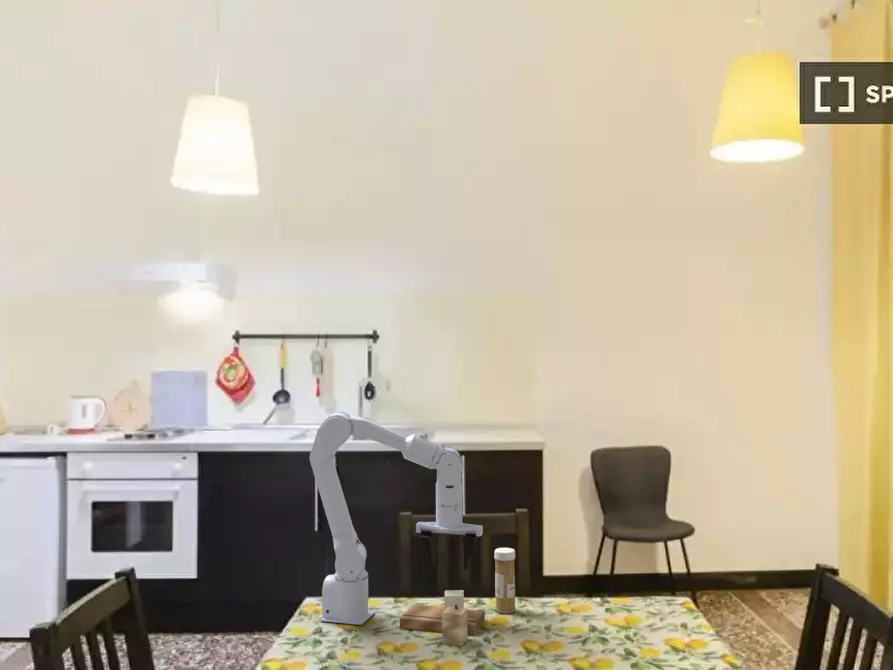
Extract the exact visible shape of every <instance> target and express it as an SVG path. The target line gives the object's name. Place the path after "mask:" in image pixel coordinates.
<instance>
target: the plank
mask: <svg viewBox="0 0 893 670" xmlns="http://www.w3.org/2000/svg"><path fill="white" fill-rule="evenodd" d="M444 611H445V606H436V605H435V606H434V605H424V604H423V605H422V604H412V605H411V606H410V607H409V608H408V609H407V610H406V611H405V612H404V613H402V615H401V616H400V617H399V629H406V628H407V629H408V630H416V631H427V632H438V633H442V613H443V612H444ZM485 612H486V611H485V610H481V609H480V610H479V609H468V608H467V636H468V635H469V636H475V635H476V634H477V633H478V632H479V630H480V628H481V626H482V625H483V623H484V622H485V620H486V619H485V618H486V617H485V616H486V613H485Z"/></svg>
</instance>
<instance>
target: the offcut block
mask: <svg viewBox="0 0 893 670" xmlns="http://www.w3.org/2000/svg"><path fill="white" fill-rule="evenodd" d="M464 591H465V590H464V589H463V590H462V589H459V590H458V589H454V590H453V589H451V590H448V589H446V590H444V607H445V609H446V608H447V607H455V604H458V608H465V606H464V605H465V603H464V602H465V596H464Z"/></svg>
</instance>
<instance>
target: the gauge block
mask: <svg viewBox="0 0 893 670" xmlns="http://www.w3.org/2000/svg"><path fill="white" fill-rule="evenodd" d="M467 609H468V608H467V607H466V608H465V607H464V608H458V604H455V607H447V608H446V609H445V611H444V612H443V613H442V632H441V633H442V635H441V637H442V638H441V639H442V640H441V641H442V644H443V645H449V646H451V645H452V646H459V647H462V646H463V645H464V644H465V643H466V641H467V639H468V634H467Z"/></svg>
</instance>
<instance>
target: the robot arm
mask: <svg viewBox="0 0 893 670" xmlns="http://www.w3.org/2000/svg"><path fill="white" fill-rule="evenodd" d="M315 433H316V434H315V438H314V441H313V444H312V447H311V449H310V453H309V462H310V466H311V469H312V473H313V475H314V478H315V482H316V486H317V489H318V492H319V495H320V499H321V502H322V507H323V509H324V513H325V516H326V518H327V522H328V526H329V528H330V532H331V536H332V541H333V549H334V553H335V562H334V570H335V573H333V574H328V575H327V576H325V578H324V580H323V584H322V589H321V607H322V608H321V609H322V612H321V618H320V621H321V622H329V623H335V624H336V623H338V624H339V623H340V624H348V625H359V626H362V625H363V624H365V623H366V622H367V621H368V620H369V619H370V618H371V617H372V616H373V615H375V614H376V612H375V610H371V609H369V573H368V571H367V570H366V569H365V568H366V559H367V556H368V553H367V549H366V547H365V545H364V544H363V543H362V542H361V541H360V539H359V537H358V534H357V532H356V530H355V528H354V526H353V522H352V518H351V515H350V512H349V509H348V508H349V507H348V504H347V502H346V499H345V494H344V492H343V489H342V484H341V481H340V478H339V475H338V472H337V468H336V465H335V462H334V457H335V455H336V454H337V452H338V451H339V449H340V447H342V446H343V445H344V444H345V443H346V442H347V441H348V440H349V438H350V437H351V436H352V441H357V440H363V439H368V440H371V441H374V442H375V443H376V442H377V443H380V444H383V445H385V446H387V447H390V448H393V449H396V450H399V451H400V452H401V454H402V457H403V459H404V460H407V461H409V462H411V463H415V464H417V465H419V466H422V467H424V468H426V469H429V470H432V469H433V470H436V483H435V521H418V522H417V523H416V524H415V533H419V534H420V535H419V540H420V542H421V544H422V546H423V548H424V551H425V553H426V556H427V560H428V565H429V567H430V568H434V567H435V565H436V556H437V555H436V542H437V534H447V535H449V534H450V535H464V536H463V537H462V546H463V570H465V571H467V570H469V568H470V564H471V559H472V555H473V551H474V549H475V546H476V543H477V542H478V539H479V537H482V535H483V534H484V533H483V532H484V529H483V527H484V526H483V525H481V524H470V523H466V522H465V523H464V522H463V482H462V479H463V477H462V472H463V470H464V467H465V466H464V463H463V462H464V461H463V458H462V457H461V455H460V453H459V452H458V450H456V449H455V448H453V447H452V446H446V444H445V443H443V442H441V443H438V442H436V441H433V440H430V439H428V438H426V434H424V433H419V434H416V433H413V434H409V435H408V436H405V435H402V434H401V433H398V432H396V431H394V430H391V429H390V428H387V427H384V425H383V426H382V425H381V424H378V423H377V422H374V421H372V420H369V419H366V418H364V417H361V416H357V415H355V414H351V415H350V414H348V413H346V412H344V411H335V412H333V413H331V414H330V415H328V416H327V418H325V420H324V421H323V422H322V423H321V424H320V426H319V427H318V428H317V430H316V432H315Z"/></svg>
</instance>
